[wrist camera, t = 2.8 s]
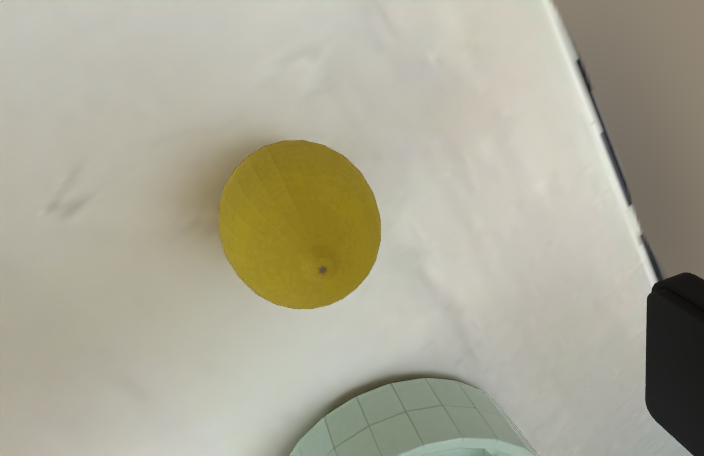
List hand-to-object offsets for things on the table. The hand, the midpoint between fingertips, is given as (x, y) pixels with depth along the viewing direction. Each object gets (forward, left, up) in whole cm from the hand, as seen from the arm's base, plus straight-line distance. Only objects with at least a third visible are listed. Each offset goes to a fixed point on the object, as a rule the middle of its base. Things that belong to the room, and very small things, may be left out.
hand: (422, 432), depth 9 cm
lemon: (0, 0, -15) cm, 15 cm away
